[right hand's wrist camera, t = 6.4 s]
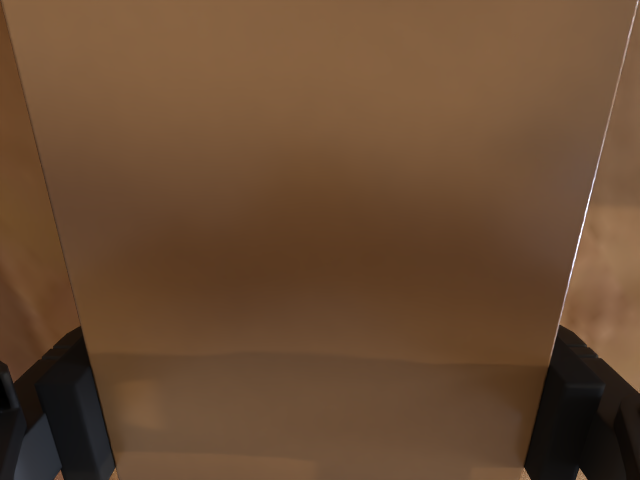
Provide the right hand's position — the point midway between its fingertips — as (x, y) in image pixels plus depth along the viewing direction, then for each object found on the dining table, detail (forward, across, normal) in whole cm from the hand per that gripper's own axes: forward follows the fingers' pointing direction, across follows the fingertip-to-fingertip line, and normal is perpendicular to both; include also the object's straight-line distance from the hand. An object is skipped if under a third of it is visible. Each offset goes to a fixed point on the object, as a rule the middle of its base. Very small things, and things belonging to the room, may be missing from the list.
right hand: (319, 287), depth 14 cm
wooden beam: (0, 0, -20) cm, 20 cm away
